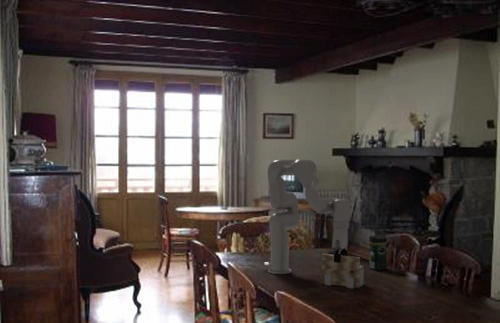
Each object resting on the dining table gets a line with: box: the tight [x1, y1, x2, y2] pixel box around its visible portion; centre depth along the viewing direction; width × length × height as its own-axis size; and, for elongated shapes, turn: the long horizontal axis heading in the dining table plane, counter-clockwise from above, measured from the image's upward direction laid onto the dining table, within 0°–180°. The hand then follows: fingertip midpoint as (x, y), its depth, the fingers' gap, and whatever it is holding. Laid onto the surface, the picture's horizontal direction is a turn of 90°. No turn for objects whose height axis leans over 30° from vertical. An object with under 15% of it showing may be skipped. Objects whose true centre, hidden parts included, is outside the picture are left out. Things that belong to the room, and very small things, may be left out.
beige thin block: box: [321, 253, 361, 289], centre depth 254 cm, size 18×4×14 cm, turn 62°
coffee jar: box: [368, 234, 388, 271], centre depth 292 cm, size 10×8×19 cm
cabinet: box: [324, 265, 365, 290], centre depth 256 cm, size 18×11×9 cm, turn 62°
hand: (340, 260), depth 254 cm, fingers open, 9 cm apart
